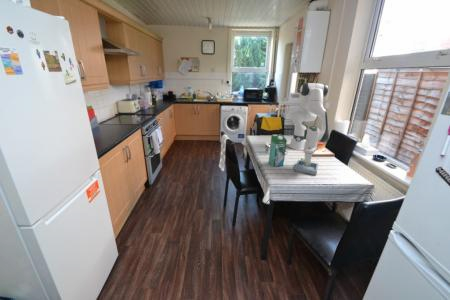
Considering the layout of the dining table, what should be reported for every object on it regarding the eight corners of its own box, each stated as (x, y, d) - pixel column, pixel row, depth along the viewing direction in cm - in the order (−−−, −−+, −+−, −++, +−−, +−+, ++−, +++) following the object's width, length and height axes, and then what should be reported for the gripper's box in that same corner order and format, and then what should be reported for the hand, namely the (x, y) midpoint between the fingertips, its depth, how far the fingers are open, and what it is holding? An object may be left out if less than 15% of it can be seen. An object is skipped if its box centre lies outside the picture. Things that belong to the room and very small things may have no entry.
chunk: (300, 161, 180) (301, 157, 178) (305, 162, 178) (306, 158, 176) (299, 163, 176) (300, 159, 175) (305, 164, 174) (306, 160, 173)
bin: (297, 163, 176) (298, 159, 175) (317, 167, 169) (318, 163, 168) (294, 170, 163) (295, 166, 161) (316, 175, 156) (317, 171, 155)
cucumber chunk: (304, 164, 168) (305, 158, 166) (310, 165, 166) (311, 159, 164) (303, 166, 164) (304, 160, 162) (309, 167, 162) (310, 161, 160)
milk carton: (273, 167, 168) (277, 137, 159) (268, 162, 176) (271, 134, 167) (283, 166, 170) (287, 137, 162) (277, 161, 179) (281, 133, 170)
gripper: (307, 143, 169) (304, 158, 174) (304, 150, 152) (301, 167, 157) (315, 144, 167) (312, 160, 172) (313, 152, 150) (310, 169, 155)
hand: (307, 163), depth 164 cm, fingers closed on cucumber chunk, 4 cm apart
